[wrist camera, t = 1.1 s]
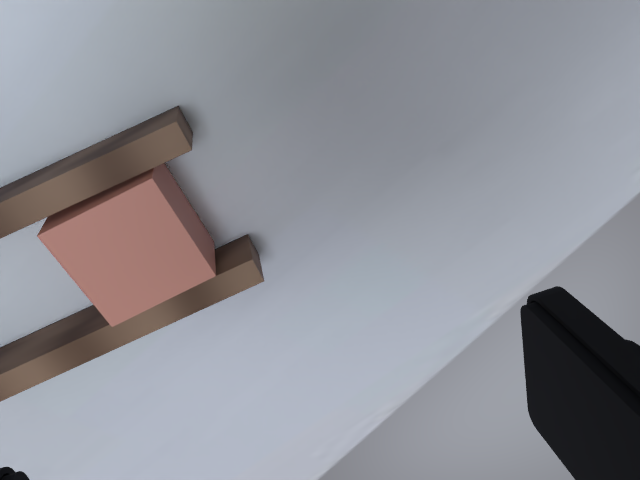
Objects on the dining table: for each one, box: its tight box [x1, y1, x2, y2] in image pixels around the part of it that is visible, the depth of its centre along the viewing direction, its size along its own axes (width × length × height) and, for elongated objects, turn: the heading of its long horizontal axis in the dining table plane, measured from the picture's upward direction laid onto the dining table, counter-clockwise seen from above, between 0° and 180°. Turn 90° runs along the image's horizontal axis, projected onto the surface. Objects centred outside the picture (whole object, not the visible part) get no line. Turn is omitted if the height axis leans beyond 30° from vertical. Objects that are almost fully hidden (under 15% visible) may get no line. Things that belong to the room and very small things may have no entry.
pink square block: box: [37, 163, 216, 327], centre depth 29 cm, size 6×6×4 cm
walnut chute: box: [0, 106, 264, 401], centre depth 30 cm, size 20×10×3 cm, turn 112°
